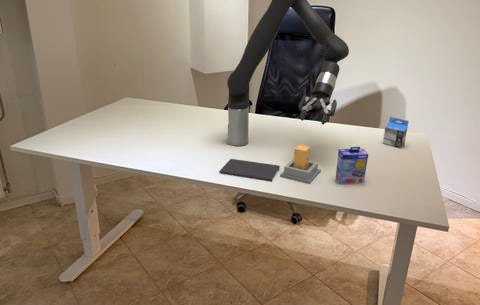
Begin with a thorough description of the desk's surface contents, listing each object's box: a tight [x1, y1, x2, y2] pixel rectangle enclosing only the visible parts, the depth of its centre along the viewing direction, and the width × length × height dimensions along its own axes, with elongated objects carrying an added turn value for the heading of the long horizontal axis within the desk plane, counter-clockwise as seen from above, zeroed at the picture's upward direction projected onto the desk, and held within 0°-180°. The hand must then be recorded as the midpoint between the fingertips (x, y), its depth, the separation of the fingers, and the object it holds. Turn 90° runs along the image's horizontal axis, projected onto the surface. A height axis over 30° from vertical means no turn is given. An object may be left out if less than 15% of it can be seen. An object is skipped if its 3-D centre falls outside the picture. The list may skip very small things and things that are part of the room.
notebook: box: [219, 158, 281, 182], centre depth 156 cm, size 13×2×21 cm
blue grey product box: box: [382, 116, 409, 149], centre depth 179 cm, size 9×4×12 cm, turn 47°
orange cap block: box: [293, 144, 311, 171], centre depth 151 cm, size 4×4×10 cm
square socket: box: [279, 158, 322, 185], centre depth 153 cm, size 12×12×4 cm
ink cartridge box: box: [335, 146, 369, 185], centre depth 146 cm, size 10×6×14 cm, turn 95°
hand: (312, 121), depth 153 cm, fingers open, 8 cm apart
